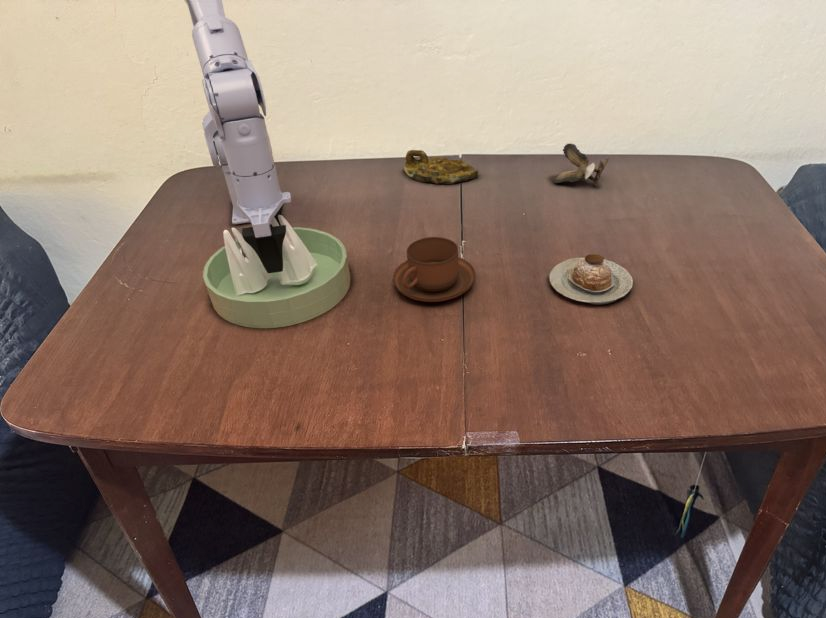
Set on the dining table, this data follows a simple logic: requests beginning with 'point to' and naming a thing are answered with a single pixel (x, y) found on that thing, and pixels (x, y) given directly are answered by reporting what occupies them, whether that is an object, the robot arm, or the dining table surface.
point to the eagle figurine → (579, 166)
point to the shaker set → (251, 270)
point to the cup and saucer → (433, 271)
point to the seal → (437, 169)
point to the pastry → (591, 280)
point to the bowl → (282, 287)
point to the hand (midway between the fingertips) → (274, 257)
